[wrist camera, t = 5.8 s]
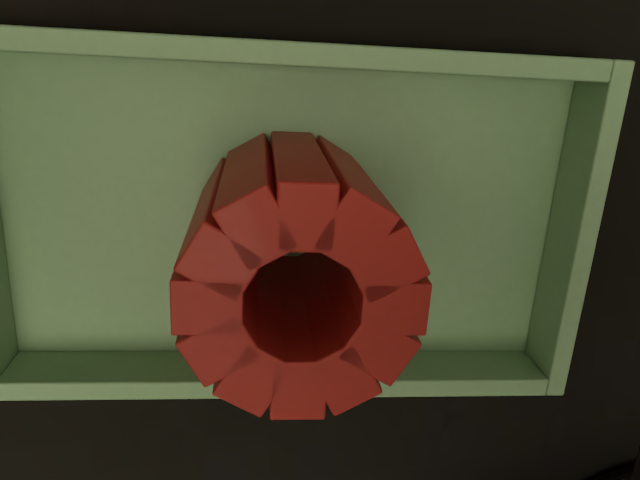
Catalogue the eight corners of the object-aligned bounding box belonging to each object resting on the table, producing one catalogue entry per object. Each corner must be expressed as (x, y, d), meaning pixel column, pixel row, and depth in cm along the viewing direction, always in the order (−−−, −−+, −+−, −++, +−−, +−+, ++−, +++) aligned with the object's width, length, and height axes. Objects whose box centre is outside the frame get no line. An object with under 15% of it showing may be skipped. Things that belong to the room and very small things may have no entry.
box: (592, 57, 23) (636, 60, 21) (534, 360, 28) (564, 396, 25) (-41, 21, 21) (-86, 19, 18) (4, 362, 25) (-27, 401, 22)
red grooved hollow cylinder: (381, 135, 23) (445, 186, 15) (366, 298, 25) (416, 418, 17) (199, 127, 22) (166, 177, 14) (201, 297, 25) (173, 421, 17)
